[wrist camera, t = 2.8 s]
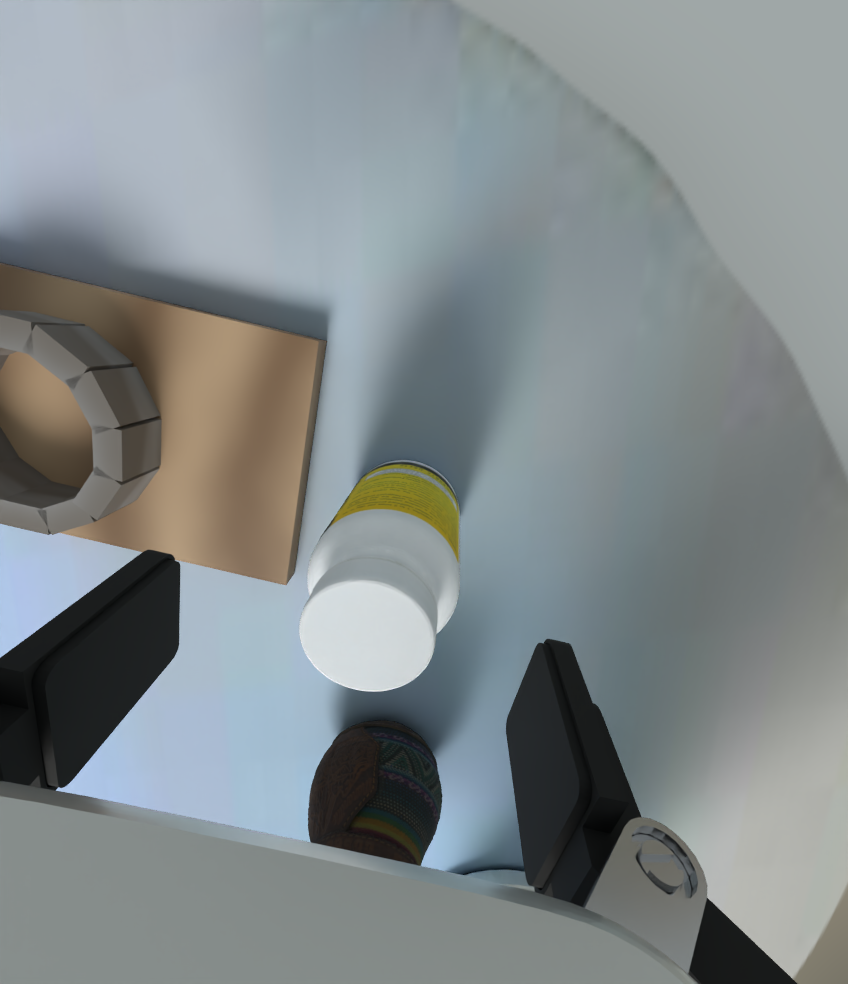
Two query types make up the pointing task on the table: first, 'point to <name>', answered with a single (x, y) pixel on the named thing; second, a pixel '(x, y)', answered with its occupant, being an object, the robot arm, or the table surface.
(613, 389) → the table surface
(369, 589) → the supplement bottle
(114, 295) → the collar board
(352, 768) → the mate gourd
